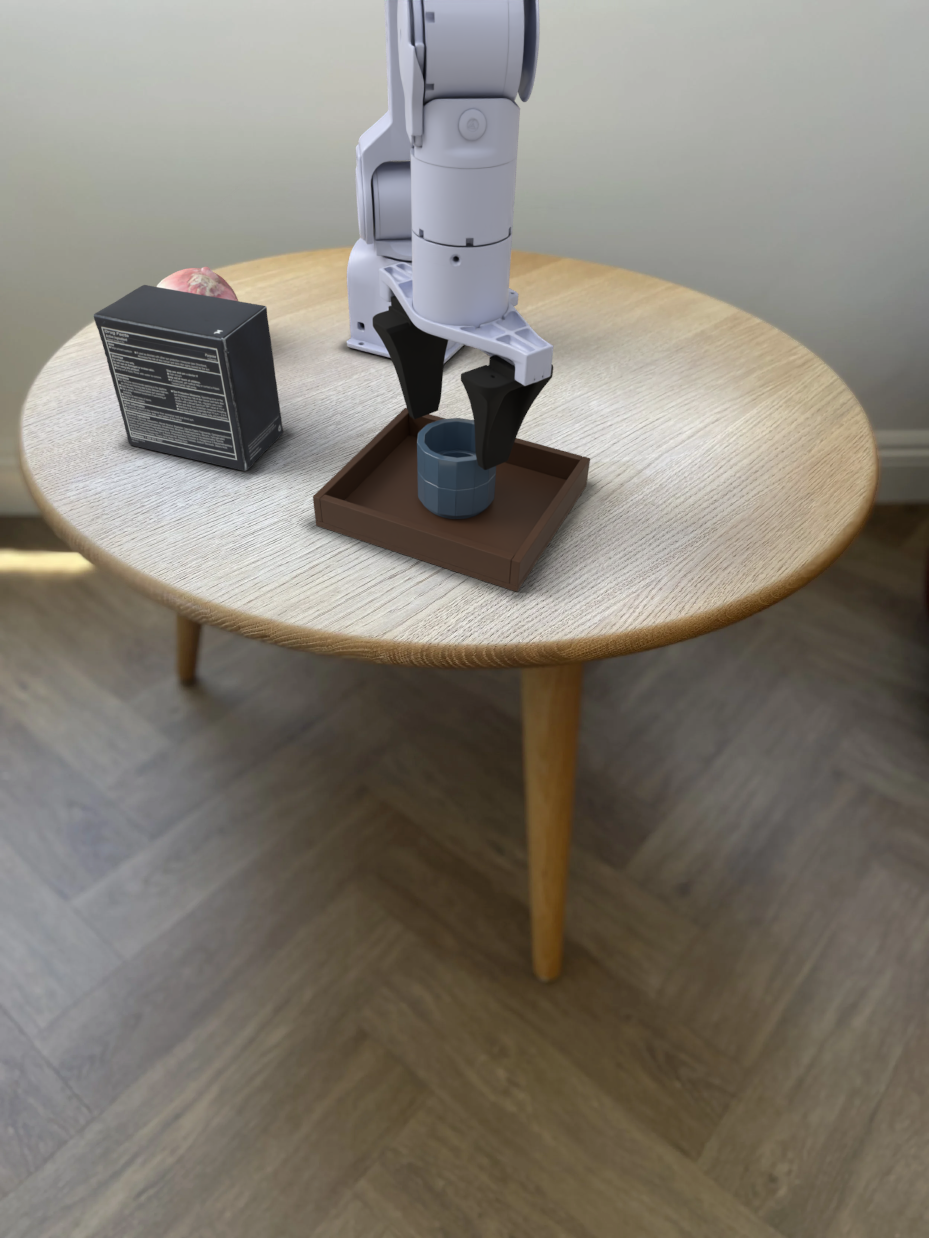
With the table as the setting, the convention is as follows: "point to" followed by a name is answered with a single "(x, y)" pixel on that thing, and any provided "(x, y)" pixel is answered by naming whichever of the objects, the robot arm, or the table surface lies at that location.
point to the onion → (199, 283)
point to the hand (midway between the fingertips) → (457, 437)
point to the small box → (193, 374)
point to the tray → (477, 546)
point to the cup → (452, 470)
